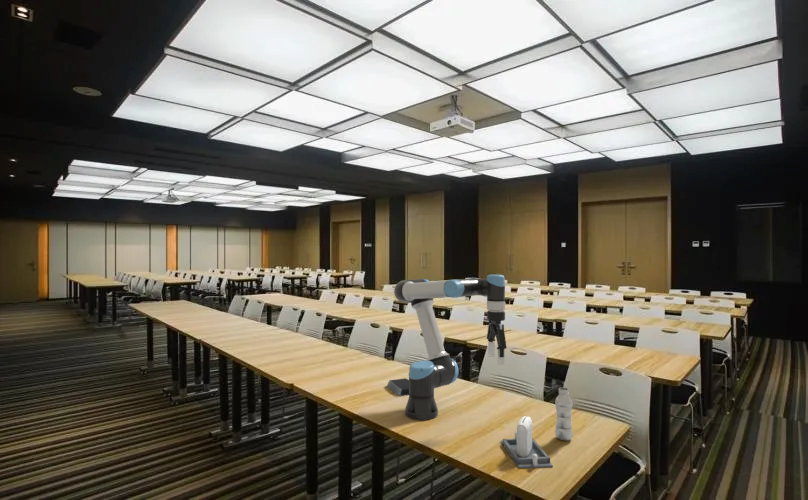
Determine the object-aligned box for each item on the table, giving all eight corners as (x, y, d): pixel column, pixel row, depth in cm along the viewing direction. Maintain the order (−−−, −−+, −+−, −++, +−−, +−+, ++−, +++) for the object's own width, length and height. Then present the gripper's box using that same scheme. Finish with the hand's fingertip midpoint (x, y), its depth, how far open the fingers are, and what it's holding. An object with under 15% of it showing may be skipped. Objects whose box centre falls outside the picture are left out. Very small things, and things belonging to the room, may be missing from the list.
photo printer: (521, 444, 158) (521, 412, 158) (533, 447, 156) (533, 414, 156) (515, 456, 149) (515, 421, 149) (527, 458, 147) (527, 424, 147)
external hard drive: (398, 397, 214) (398, 389, 214) (385, 386, 232) (385, 379, 232) (421, 394, 219) (421, 386, 219) (407, 384, 237) (407, 376, 237)
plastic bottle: (552, 435, 167) (551, 386, 168) (568, 435, 168) (567, 386, 168) (559, 443, 161) (559, 391, 161) (575, 442, 161) (575, 391, 162)
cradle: (518, 468, 142) (518, 456, 142) (501, 442, 162) (501, 431, 162) (552, 467, 142) (552, 455, 142) (530, 441, 162) (530, 431, 162)
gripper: (514, 314, 163) (514, 368, 163) (495, 307, 188) (496, 353, 188) (496, 314, 163) (496, 368, 162) (479, 307, 188) (479, 353, 187)
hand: (496, 360), depth 175 cm, fingers open, 13 cm apart
